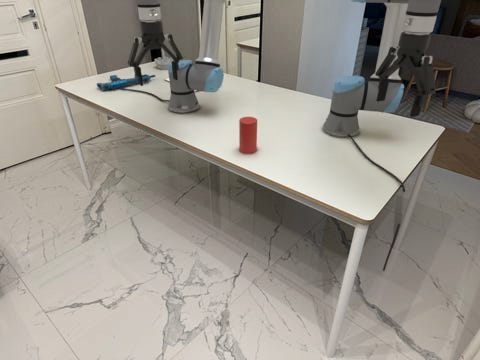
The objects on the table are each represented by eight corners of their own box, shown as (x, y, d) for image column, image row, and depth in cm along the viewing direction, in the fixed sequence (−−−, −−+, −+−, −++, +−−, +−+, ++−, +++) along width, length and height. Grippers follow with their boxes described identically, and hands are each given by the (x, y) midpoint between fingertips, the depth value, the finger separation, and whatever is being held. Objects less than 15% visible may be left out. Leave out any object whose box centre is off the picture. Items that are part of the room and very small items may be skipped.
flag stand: (172, 63, 245) (167, 18, 229) (176, 68, 235) (171, 21, 219) (154, 65, 241) (147, 19, 225) (157, 70, 231) (150, 22, 215)
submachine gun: (141, 68, 225) (159, 74, 208) (142, 74, 227) (160, 80, 210) (89, 78, 206) (104, 86, 190) (91, 84, 208) (106, 92, 192)
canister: (258, 147, 137) (259, 117, 130) (253, 154, 132) (254, 124, 125) (242, 144, 139) (242, 115, 132) (236, 152, 134) (236, 122, 127)
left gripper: (117, 24, 108) (129, 90, 120) (188, 19, 120) (192, 79, 131) (111, 22, 114) (122, 84, 125) (179, 16, 125) (184, 74, 136)
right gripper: (372, 26, 99) (359, 96, 111) (446, 42, 80) (420, 125, 92) (392, 24, 102) (377, 93, 113) (468, 39, 82) (440, 121, 94)
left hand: (158, 82), depth 128 cm, fingers open, 13 cm apart
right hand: (396, 108), depth 102 cm, fingers open, 13 cm apart
